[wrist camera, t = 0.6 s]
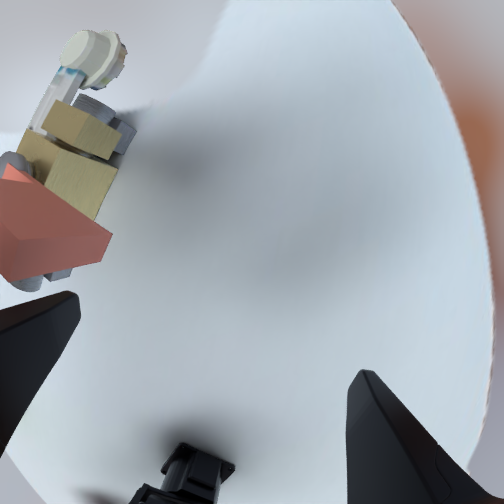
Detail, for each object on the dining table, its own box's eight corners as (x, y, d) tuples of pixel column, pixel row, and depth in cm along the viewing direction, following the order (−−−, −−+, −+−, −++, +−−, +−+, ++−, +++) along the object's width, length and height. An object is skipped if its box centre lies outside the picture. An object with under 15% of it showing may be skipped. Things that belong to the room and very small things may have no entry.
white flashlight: (-21, 245, 21) (71, 11, 15) (19, 235, 27) (107, 36, 22) (1, 273, 21) (105, 17, 15) (43, 259, 27) (140, 46, 22)
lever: (-3, 188, 14) (-77, 181, 7) (13, 148, 14) (-61, 128, 7) (99, 272, 14) (5, 299, 7) (121, 221, 14) (25, 219, 7)
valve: (68, 285, 24) (2, 306, 15) (40, 260, 24) (-26, 272, 15) (140, 129, 23) (85, 88, 14) (105, 113, 23) (48, 75, 14)
